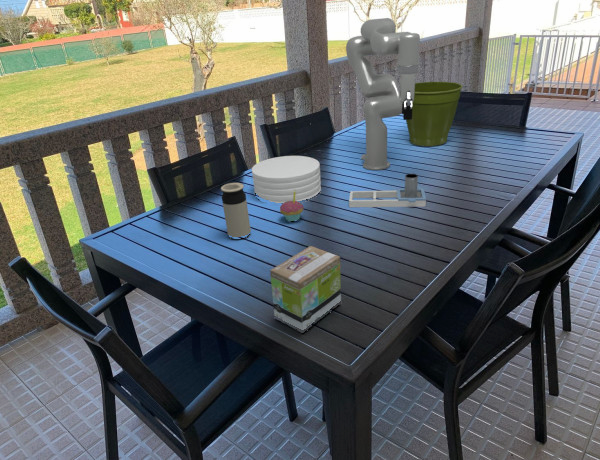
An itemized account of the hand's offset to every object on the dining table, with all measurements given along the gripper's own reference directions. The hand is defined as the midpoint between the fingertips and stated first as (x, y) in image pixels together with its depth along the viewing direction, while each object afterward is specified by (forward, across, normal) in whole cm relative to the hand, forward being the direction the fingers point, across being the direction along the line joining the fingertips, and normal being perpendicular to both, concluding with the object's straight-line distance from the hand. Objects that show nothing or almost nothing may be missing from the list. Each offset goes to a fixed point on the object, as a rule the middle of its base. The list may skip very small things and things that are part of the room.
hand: (406, 116), depth 171 cm
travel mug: (+28, +45, -58) cm, 79 cm away
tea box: (+29, +87, -29) cm, 96 cm away
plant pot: (+28, -62, +16) cm, 70 cm away
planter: (+28, +17, +1) cm, 33 cm away
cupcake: (+28, +33, -42) cm, 60 cm away
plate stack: (+29, +5, -48) cm, 56 cm away
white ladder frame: (+28, +17, -8) cm, 34 cm away
